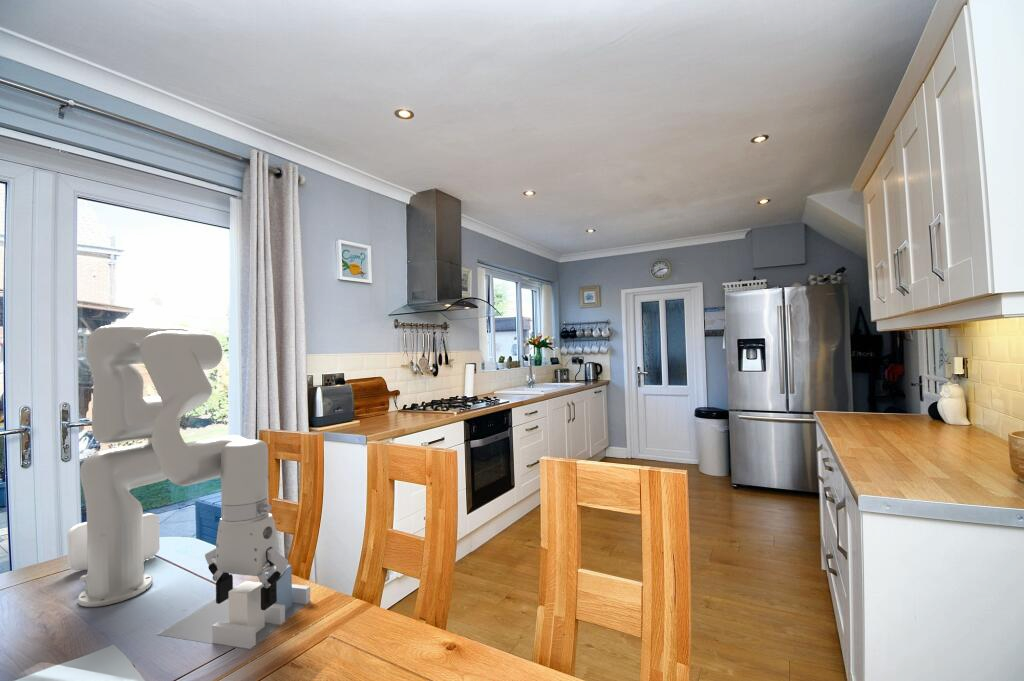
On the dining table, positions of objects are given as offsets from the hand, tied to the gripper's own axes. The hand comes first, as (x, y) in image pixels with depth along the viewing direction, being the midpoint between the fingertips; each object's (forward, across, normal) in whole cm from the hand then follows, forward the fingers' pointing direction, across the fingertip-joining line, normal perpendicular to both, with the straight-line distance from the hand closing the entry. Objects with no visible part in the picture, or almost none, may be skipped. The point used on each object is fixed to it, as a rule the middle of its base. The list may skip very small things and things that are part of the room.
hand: (246, 603), depth 87 cm
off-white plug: (+5, 0, 0) cm, 5 cm away
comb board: (+7, +5, -4) cm, 9 cm away
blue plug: (+5, 0, -7) cm, 9 cm away
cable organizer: (+7, +57, -18) cm, 61 cm away
